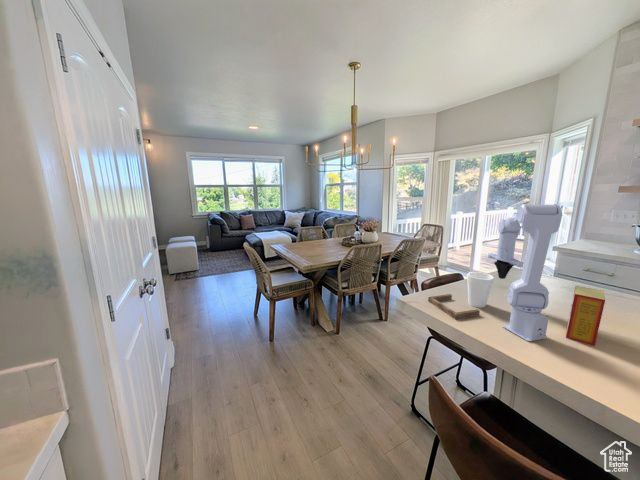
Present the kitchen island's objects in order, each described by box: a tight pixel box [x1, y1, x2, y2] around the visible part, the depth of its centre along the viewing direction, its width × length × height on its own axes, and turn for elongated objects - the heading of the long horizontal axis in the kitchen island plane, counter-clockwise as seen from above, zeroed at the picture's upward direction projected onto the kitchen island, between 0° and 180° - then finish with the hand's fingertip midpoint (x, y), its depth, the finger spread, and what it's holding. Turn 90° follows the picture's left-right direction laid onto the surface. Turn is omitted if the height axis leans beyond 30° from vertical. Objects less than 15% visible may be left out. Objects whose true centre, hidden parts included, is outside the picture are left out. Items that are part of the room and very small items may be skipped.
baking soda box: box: [565, 285, 606, 347], centre depth 83 cm, size 10×6×16 cm
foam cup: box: [466, 271, 495, 308], centre depth 107 cm, size 10×9×13 cm
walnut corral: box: [427, 293, 481, 320], centre depth 105 cm, size 16×11×2 cm
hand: (502, 278), depth 109 cm, fingers closed
